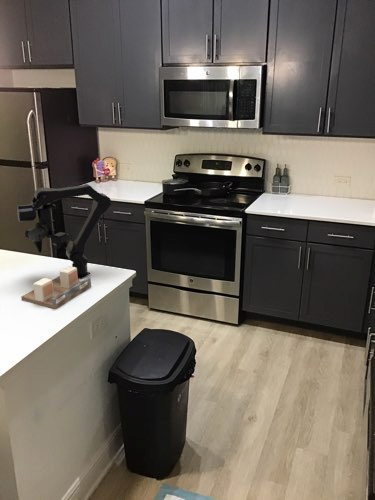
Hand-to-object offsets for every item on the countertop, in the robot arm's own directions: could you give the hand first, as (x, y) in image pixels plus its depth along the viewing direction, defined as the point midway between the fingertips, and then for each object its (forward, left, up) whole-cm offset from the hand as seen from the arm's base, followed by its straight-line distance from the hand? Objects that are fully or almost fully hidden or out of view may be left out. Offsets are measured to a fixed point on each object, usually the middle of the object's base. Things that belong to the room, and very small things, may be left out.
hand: (48, 254), depth 185 cm
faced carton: (+17, +12, -10) cm, 23 cm away
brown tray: (+9, +11, -12) cm, 19 cm away
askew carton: (+3, +13, -10) cm, 17 cm away
